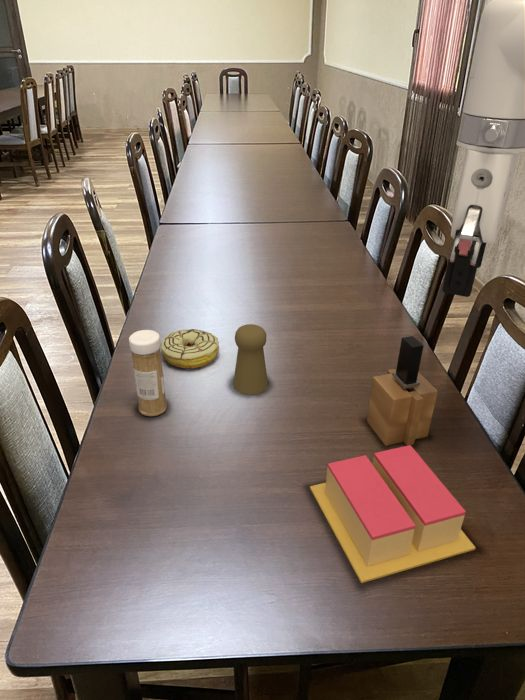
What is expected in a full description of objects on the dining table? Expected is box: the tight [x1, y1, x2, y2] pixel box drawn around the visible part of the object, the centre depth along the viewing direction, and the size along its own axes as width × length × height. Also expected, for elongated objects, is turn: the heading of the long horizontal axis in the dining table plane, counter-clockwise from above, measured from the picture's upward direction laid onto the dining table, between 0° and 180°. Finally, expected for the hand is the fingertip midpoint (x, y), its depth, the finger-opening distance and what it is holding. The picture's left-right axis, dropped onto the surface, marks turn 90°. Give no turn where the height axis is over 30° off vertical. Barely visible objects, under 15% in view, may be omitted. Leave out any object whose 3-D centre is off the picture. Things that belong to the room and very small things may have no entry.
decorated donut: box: [160, 328, 220, 369], centre depth 99 cm, size 10×11×4 cm
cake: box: [309, 445, 476, 584], centre depth 66 cm, size 15×15×5 cm
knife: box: [392, 335, 425, 392], centre depth 79 cm, size 2×4×16 cm, turn 18°
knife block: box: [366, 368, 438, 446], centre depth 80 cm, size 7×8×8 cm
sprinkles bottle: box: [128, 329, 168, 417], centre depth 83 cm, size 5×5×14 cm
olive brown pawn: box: [232, 323, 269, 396], centre depth 89 cm, size 6×6×11 cm
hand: (462, 278), depth 67 cm, fingers open, 9 cm apart
